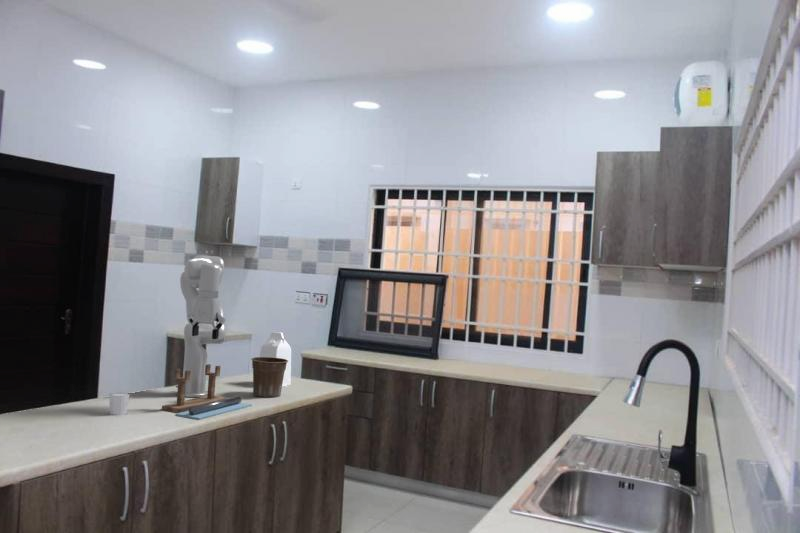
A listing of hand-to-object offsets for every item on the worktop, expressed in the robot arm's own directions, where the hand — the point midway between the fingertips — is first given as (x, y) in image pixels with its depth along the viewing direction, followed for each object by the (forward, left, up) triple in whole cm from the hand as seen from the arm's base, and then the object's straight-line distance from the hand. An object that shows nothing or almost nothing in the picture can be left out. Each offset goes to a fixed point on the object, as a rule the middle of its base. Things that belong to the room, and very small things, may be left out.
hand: (205, 337), depth 253 cm
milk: (-5, +60, -28) cm, 66 cm away
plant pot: (+7, +37, -28) cm, 47 cm away
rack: (-2, 0, -28) cm, 28 cm away
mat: (+9, -2, -28) cm, 29 cm away
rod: (+9, -2, -27) cm, 29 cm away
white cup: (-14, -28, -28) cm, 42 cm away
